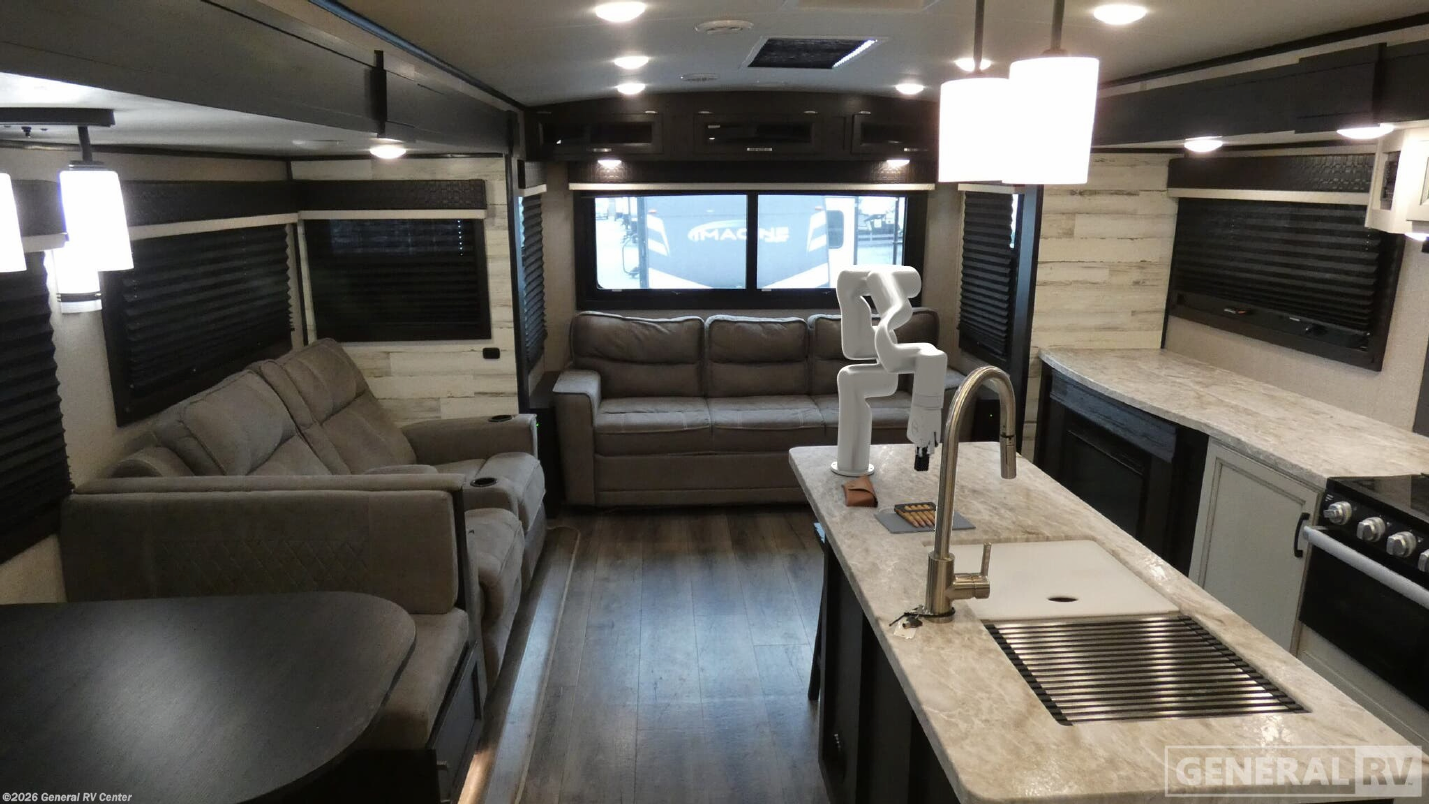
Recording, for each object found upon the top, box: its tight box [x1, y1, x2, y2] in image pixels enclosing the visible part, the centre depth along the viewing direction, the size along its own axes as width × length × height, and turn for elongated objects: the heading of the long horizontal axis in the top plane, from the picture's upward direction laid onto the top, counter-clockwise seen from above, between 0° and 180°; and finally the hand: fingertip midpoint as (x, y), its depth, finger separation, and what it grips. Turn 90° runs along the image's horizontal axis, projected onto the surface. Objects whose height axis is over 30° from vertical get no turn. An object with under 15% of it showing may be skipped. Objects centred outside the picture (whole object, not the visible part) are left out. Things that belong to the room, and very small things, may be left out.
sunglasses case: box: [840, 474, 879, 509], centre depth 242 cm, size 18×7×7 cm
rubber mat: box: [873, 509, 977, 534], centre depth 224 cm, size 12×22×1 cm, turn 101°
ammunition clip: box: [893, 501, 937, 527], centre depth 225 cm, size 11×2×12 cm
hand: (921, 470), depth 225 cm, fingers closed
